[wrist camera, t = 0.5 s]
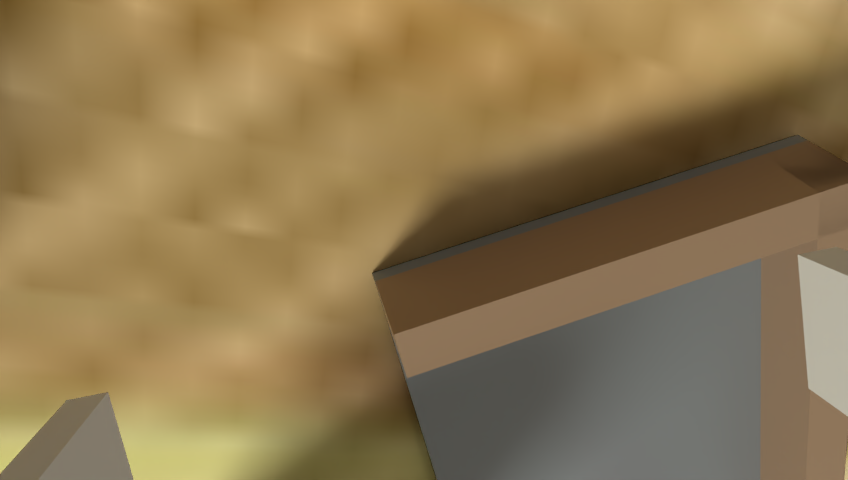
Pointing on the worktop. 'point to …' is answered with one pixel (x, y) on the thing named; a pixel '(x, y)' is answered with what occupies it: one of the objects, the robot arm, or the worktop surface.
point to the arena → (631, 332)
